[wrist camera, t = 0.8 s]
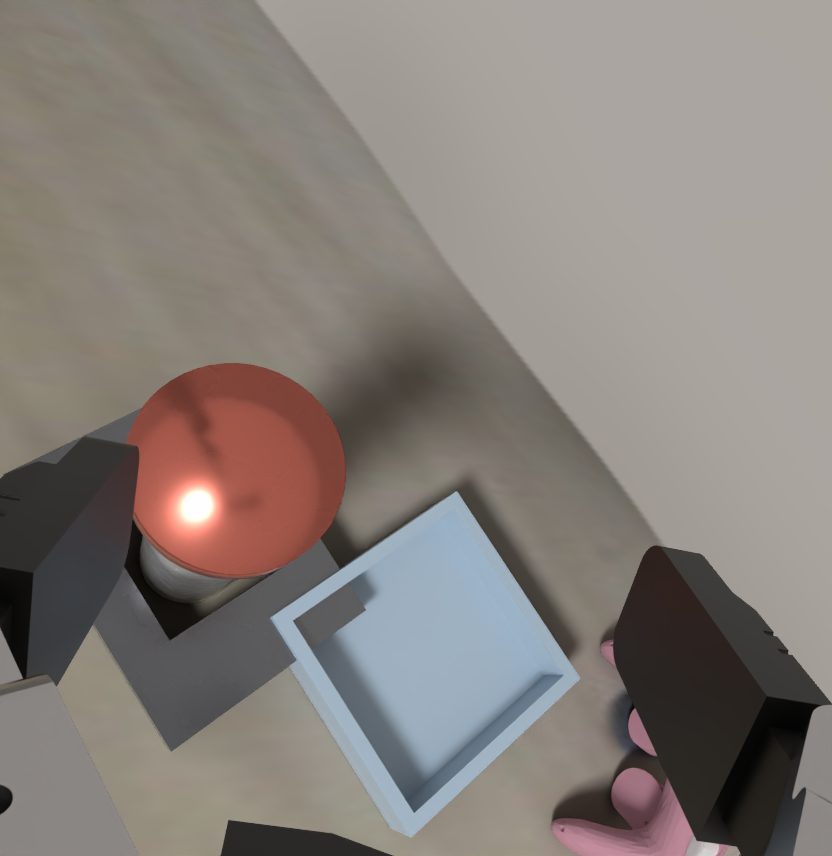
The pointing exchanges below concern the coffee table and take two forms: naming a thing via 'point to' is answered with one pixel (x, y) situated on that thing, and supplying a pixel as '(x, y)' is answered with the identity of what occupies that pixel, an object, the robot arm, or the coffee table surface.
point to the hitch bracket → (211, 634)
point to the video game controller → (636, 813)
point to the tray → (428, 663)
